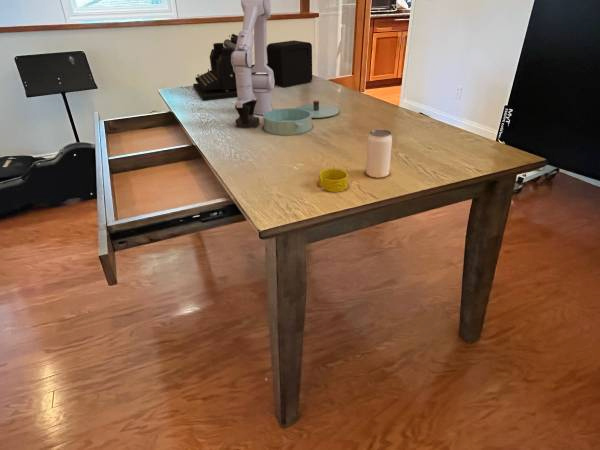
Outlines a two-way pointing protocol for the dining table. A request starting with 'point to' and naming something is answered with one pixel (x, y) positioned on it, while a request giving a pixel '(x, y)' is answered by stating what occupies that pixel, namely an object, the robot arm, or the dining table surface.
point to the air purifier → (290, 62)
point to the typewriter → (219, 73)
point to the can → (378, 153)
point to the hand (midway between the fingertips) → (247, 121)
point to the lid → (320, 109)
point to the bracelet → (333, 180)
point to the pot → (287, 121)
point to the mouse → (252, 122)
